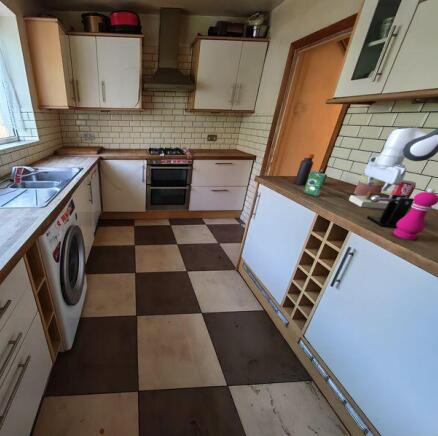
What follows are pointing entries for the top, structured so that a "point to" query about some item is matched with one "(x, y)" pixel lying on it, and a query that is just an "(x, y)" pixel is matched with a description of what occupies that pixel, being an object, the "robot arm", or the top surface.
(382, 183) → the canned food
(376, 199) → the metal spoon
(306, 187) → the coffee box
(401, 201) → the latch bracket
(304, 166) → the bottle
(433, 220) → the top surface
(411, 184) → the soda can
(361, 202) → the plate
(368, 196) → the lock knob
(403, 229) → the pepper mill
